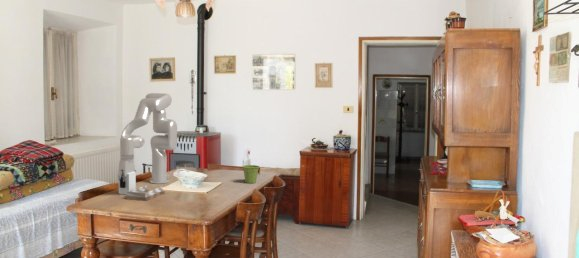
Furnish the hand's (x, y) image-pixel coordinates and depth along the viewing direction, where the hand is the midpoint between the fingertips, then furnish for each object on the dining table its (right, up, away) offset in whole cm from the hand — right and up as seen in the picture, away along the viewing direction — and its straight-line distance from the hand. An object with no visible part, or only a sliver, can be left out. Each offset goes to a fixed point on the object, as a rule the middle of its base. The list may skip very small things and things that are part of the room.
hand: (127, 186), depth 280 cm
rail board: (+13, -5, -6) cm, 15 cm away
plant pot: (+70, -3, +41) cm, 82 cm away
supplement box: (0, -4, 0) cm, 5 cm away
